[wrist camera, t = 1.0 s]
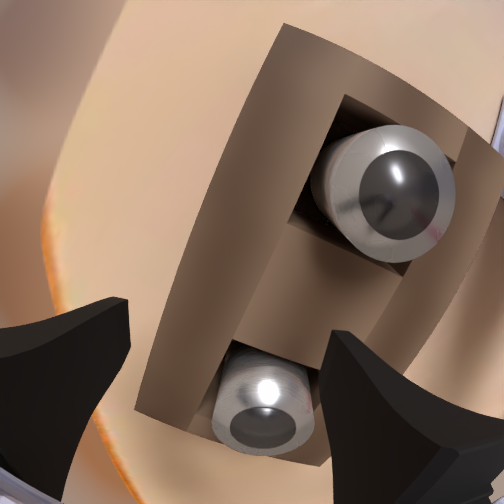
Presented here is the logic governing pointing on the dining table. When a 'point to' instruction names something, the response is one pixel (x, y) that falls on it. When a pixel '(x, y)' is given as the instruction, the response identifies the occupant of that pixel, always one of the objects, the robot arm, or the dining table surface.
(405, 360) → the housing
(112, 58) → the dining table surface
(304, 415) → the knob
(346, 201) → the knob
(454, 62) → the dining table surface
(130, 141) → the dining table surface
